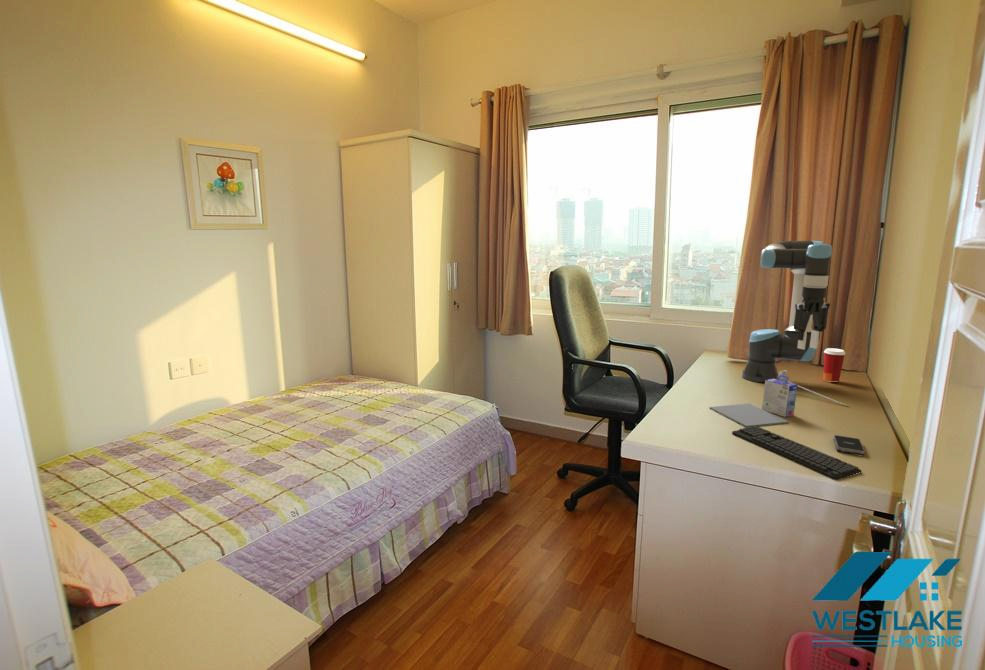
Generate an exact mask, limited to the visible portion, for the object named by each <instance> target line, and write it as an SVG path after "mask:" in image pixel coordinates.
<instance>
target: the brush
mask: <svg viewBox="0 0 985 670" xmlns="http://www.w3.org/2000/svg"><path fill="white" fill-rule="evenodd" d="M787 373H788V370H787V369H783V370H781V371H779V372H778V376H779V375H784V376H787ZM780 379H784V380H786V378H784V377H780ZM787 382H789V383H793V384H795V383H794V382H792V381H790V380H788V381H787ZM797 385H798V386H797V388H800V389H803V390H805V391H807V392H810V393H812V394H814V395H817V396H820V397H821V398H825V399H827V400H829V401H832V402H834V403H836V404H839V405H841V404H844V405H846V404H845V403H843V402H841V401H838V400H835V399H833V398H831V397H828V396H825V395H823V394H821V393H818V392H817V391H814V390H812V389H811V390H810V389H808V388H806V387H803V386H800V385H799V384H797ZM844 405H843V406H844Z"/></svg>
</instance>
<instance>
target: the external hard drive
mask: <svg viewBox="0 0 985 670" xmlns="http://www.w3.org/2000/svg"><path fill="white" fill-rule="evenodd" d="M833 442H834V445H835V449H836V450H837V452H838V453H841V454H848V455H853V454H854V455H855V456H859V455H864V456H865V453H866V449H865V448H864V446H863V444H862V442H861V439H860V438H857V437H850V436H849V437H848V436H845V435H844V436H843V435H838V434H837V435H836V434H834V436H833Z"/></svg>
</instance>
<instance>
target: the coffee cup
mask: <svg viewBox="0 0 985 670" xmlns="http://www.w3.org/2000/svg"><path fill="white" fill-rule="evenodd" d="M823 353H824V356H823V357H824V359H823V374H822V377H823V378H822V380H823V379H824V380H827V381H839V382H840V377H841V373H842V369H843V364H844V360H845V359H844V358H845V355H846V351H845V350H844V349H840V348H833V347H832V348H831V347H827V348H825V349H824V351H823Z"/></svg>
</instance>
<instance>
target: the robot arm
mask: <svg viewBox="0 0 985 670" xmlns="http://www.w3.org/2000/svg"><path fill="white" fill-rule="evenodd" d="M760 254H761V255H760V267H761V268H763V269H790V272H792V274H793V284H792V292H791V293H792V294H791V303H790V304H791V305H790V313H789V323H788V324H789V325H788V327H787V328H786V329H784V333H781V332H780V330H778V329H774V328H772V329H769V328H767V329H764V328H763V329H757V330H754V331H752V332H750V336H749V340H748V342H749V346H748V354H747V362H746V364H745V367H744V369H743V370H742V374H741V377H742V378H743V379H745V380H747V381H751V382H756V383H762V382H763V383H764V384H765V380H768V379H778V377H779V372H778V368H777V359H778V360H787V361H788V360H789V361H799V362H810V361H812V359H814V356H815V354H816V352H817V351H816V350H817V349H818V346H819V340H820V337H821V332H823V333H824V330H826V328H827V322H828V315H829V313H828V312H829V309H830V306H831V303H829V302H825V300H824V299H825V298H826V297H827V292H828V288H827V287H828V284H829V275H830V273H829V272H830V266H831V262H832V261H831V259H832V256H833V246H832V245H831V244H826V243H824V242H823V241H821V240H820V241H819V240H783V241H777V242H773V243H771V244H768V245H767V246H766V247H765V248H763V249H762V251H761V253H760ZM812 324H813V325H812ZM812 326H813V328H812Z"/></svg>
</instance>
